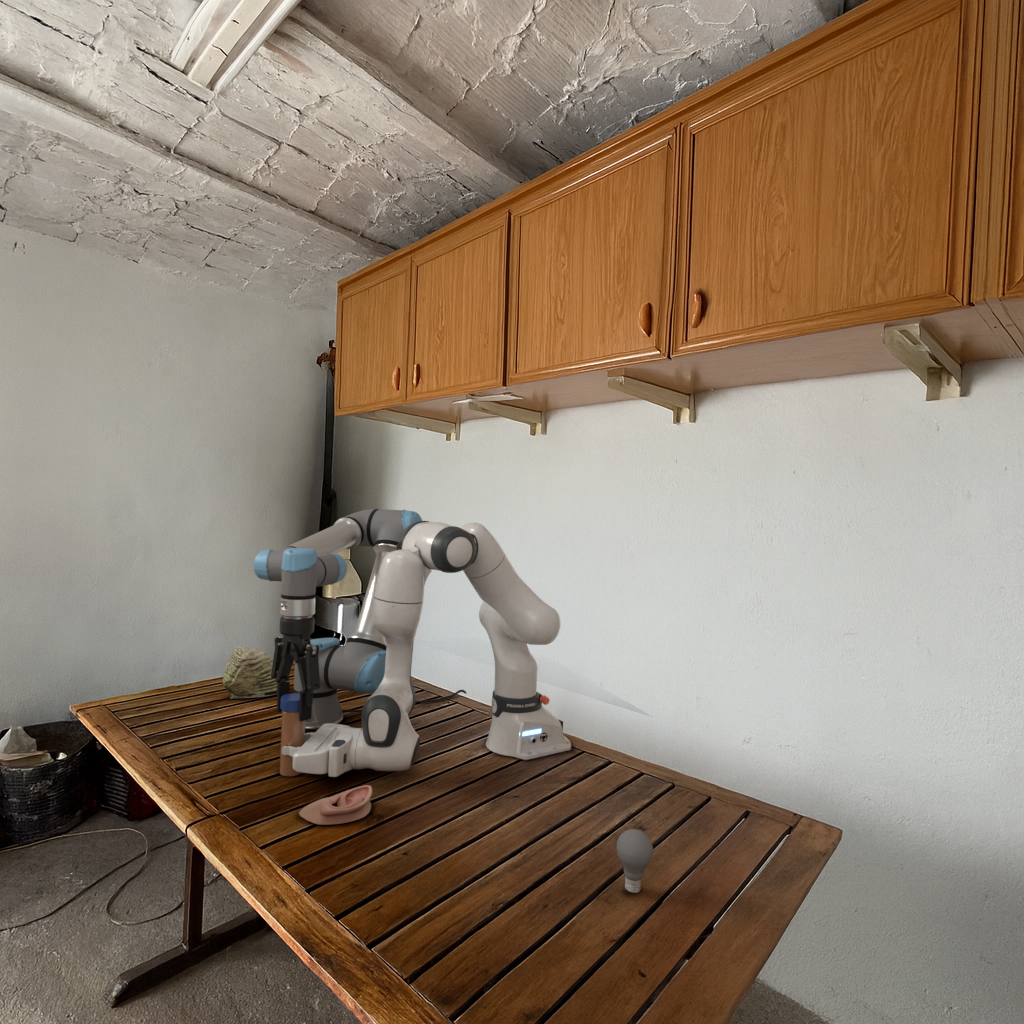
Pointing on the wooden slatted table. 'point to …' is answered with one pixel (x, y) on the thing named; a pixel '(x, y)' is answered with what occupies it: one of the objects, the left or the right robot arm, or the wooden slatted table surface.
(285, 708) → the lid
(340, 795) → the anatomical model
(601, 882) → the wooden slatted table surface
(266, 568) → the left robot arm
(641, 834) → the light bulb
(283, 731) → the jar
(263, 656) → the fossil
